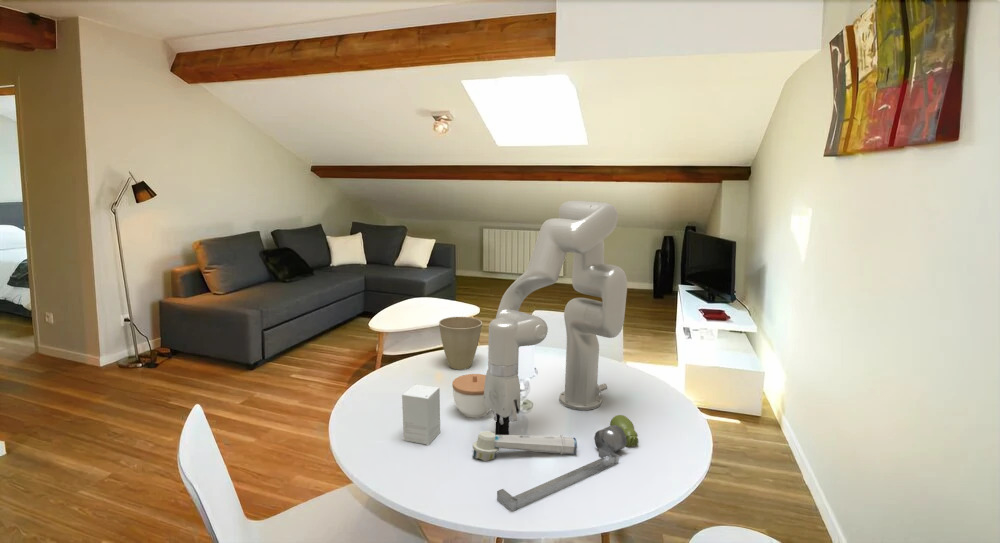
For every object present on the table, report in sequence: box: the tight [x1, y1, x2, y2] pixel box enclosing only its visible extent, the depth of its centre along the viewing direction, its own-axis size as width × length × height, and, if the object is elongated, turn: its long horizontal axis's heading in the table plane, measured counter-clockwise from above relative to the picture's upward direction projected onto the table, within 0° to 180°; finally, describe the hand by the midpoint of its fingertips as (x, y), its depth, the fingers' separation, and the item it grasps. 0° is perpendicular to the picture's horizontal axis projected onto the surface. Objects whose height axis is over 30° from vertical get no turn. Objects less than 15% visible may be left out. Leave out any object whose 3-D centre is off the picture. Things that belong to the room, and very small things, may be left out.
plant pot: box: [438, 316, 483, 371], centre depth 187 cm, size 15×15×16 cm
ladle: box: [496, 425, 627, 513], centre depth 123 cm, size 37×8×6 cm, turn 126°
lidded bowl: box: [452, 373, 491, 419], centre depth 152 cm, size 13×13×11 cm
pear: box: [609, 414, 639, 448], centre depth 139 cm, size 6×5×10 cm
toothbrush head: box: [472, 430, 578, 462], centre depth 131 cm, size 5×7×25 cm
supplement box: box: [401, 383, 441, 446], centre depth 138 cm, size 7×7×13 cm
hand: (502, 435), depth 138 cm, fingers closed
